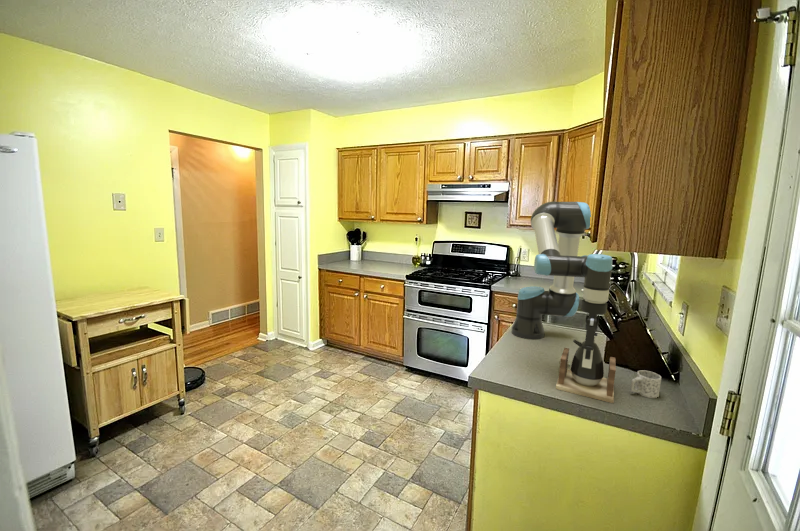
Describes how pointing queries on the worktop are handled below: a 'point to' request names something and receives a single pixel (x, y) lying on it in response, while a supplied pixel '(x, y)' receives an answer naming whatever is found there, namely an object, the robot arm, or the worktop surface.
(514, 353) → the worktop surface
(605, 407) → the worktop surface
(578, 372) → the pump dispenser
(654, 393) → the mug
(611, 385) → the caddy
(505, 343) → the worktop surface
